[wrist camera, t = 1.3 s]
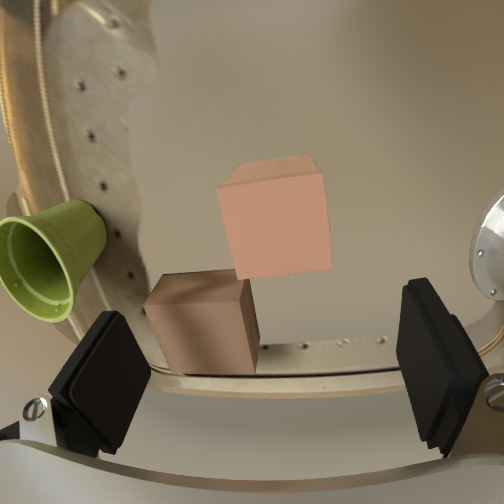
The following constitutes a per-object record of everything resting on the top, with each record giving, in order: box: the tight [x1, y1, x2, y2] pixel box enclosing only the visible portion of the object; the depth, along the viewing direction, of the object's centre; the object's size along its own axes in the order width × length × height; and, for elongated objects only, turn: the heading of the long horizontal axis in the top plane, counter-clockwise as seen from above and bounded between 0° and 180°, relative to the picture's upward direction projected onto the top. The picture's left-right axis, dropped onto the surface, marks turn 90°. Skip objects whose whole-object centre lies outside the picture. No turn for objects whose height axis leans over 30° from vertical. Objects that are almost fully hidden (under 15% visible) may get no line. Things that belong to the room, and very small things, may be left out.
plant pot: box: [0, 200, 107, 322], centre depth 24 cm, size 9×9×9 cm
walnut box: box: [143, 269, 260, 374], centre depth 28 cm, size 8×8×5 cm
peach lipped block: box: [216, 154, 333, 280], centre depth 21 cm, size 6×6×7 cm
